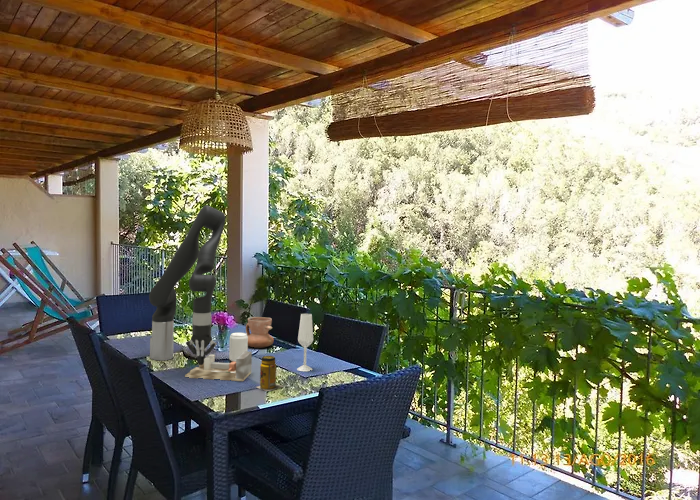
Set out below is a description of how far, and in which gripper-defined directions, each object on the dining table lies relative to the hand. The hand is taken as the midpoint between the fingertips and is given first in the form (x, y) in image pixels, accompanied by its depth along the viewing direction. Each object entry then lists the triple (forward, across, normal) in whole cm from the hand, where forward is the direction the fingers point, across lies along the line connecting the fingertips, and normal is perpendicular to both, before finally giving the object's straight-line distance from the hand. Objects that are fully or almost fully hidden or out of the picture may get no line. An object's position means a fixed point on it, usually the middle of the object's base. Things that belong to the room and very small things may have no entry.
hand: (201, 364), depth 225 cm
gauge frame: (+4, +8, 0) cm, 9 cm away
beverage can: (+4, +8, +24) cm, 26 cm away
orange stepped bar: (+2, +14, -1) cm, 14 cm away
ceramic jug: (+4, +10, +52) cm, 53 cm away
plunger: (+3, +7, 0) cm, 8 cm away
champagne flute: (+4, +40, +16) cm, 44 cm away
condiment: (+4, +32, -11) cm, 34 cm away
